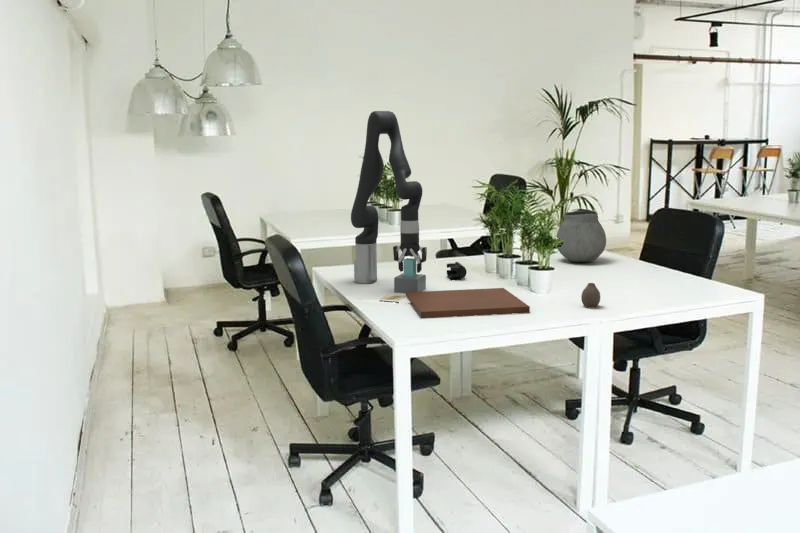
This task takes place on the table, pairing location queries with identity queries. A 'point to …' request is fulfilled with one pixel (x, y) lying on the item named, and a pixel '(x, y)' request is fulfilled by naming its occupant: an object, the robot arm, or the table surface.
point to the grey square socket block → (409, 283)
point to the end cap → (456, 271)
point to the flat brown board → (465, 302)
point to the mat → (392, 298)
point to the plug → (410, 267)
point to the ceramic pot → (581, 236)
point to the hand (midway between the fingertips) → (410, 271)
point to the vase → (590, 296)
